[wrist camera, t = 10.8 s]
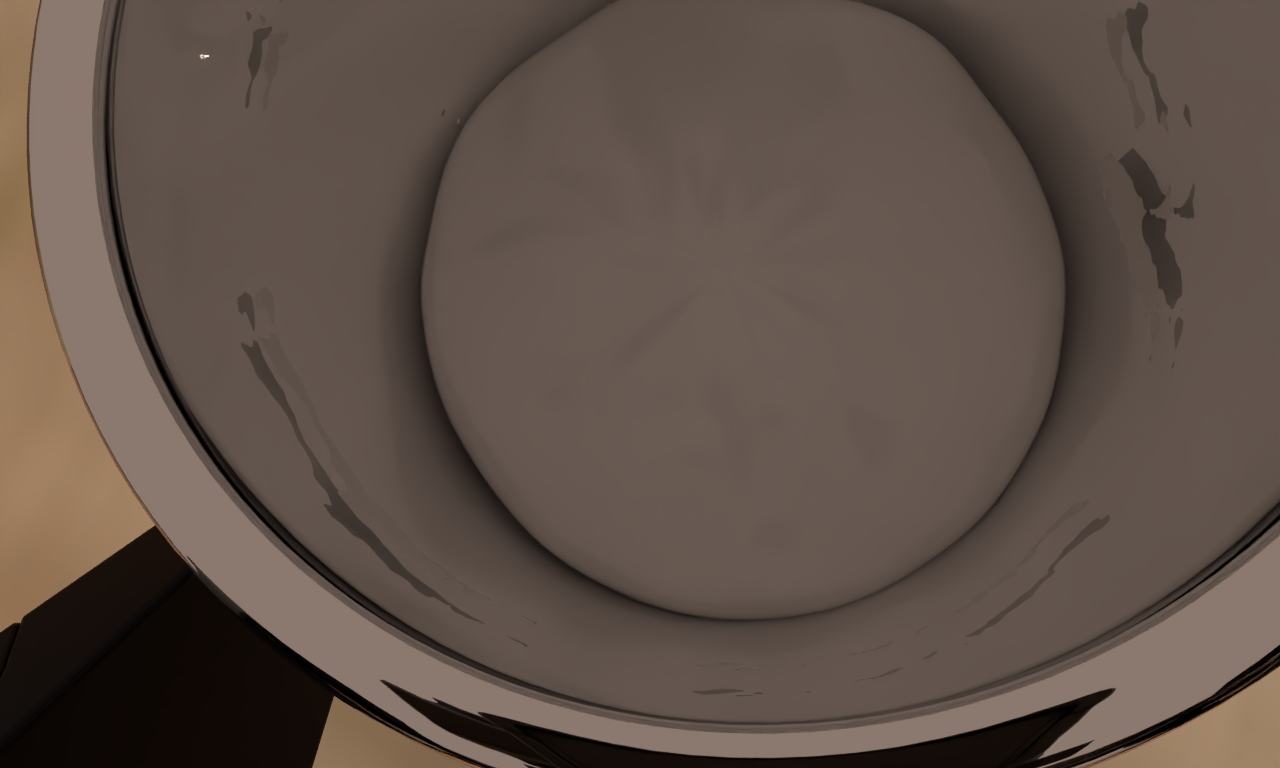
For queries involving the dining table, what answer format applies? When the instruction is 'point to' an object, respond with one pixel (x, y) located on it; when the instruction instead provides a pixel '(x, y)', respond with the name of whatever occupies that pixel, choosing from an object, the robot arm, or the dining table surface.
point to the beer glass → (693, 359)
